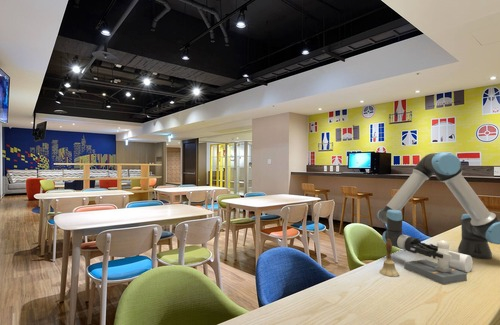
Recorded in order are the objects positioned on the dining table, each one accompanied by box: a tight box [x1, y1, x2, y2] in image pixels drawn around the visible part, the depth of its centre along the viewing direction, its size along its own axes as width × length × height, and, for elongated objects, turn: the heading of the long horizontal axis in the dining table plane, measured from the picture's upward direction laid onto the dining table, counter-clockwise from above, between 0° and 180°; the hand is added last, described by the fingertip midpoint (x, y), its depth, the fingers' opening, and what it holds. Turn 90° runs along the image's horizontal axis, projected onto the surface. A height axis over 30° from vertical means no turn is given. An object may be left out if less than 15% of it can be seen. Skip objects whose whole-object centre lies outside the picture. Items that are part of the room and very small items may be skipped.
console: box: [403, 259, 468, 285], centre depth 132 cm, size 14×20×3 cm
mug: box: [449, 250, 474, 273], centre depth 139 cm, size 12×10×8 cm
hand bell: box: [379, 239, 400, 278], centre depth 133 cm, size 8×8×16 cm
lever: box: [435, 239, 453, 273], centre depth 127 cm, size 5×5×14 cm
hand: (455, 258), depth 122 cm, fingers closed on lever, 4 cm apart
